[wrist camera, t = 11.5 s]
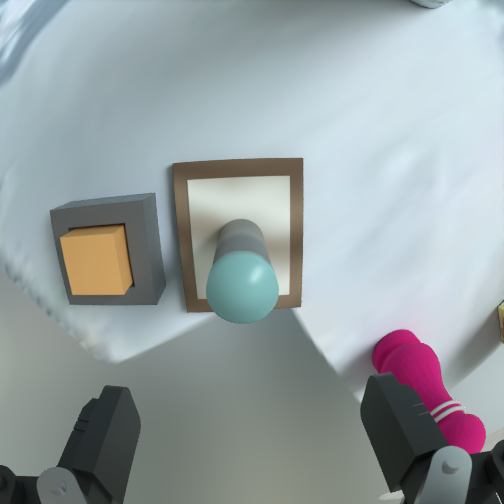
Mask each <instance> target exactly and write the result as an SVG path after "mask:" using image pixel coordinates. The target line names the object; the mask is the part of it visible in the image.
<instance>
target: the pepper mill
mask: <svg viewBox="0 0 504 504" xmlns="http://www.w3.org/2000/svg"><path fill="white" fill-rule="evenodd" d="M372 361H373V365H374V366H375V368H376V370H377V372H378V373H379V374H383V373H388V372H391V373H393V374H394V376H395V377H396V379H397V380H398V382H399V384H400V385H401V384H407V385H408V386H410V387H411V388H412V389H414V390H415V391H416V392H417V393H418V395H419V396H420V398H421V399H422V401H423V404H424V405H425V406H426V407H427V409H428V410H429V413H430V414H431V415H432V417H433V419H434V420H435V422H436V423H437V425H438V427H439V428H440V430H441V432H442V433H443V435H444V437H445V438H446V440H447V442H448V443H449V444H450V446H456V447H459V448H462V449H463V450H465V451H466V452H467V453H468V454H473V453H480V451H481V450H482V448H483V446H484V443H485V439H486V431H485V428H484V425H483V423H482V421H481V420H480V419H479V418H478V417H477V416H475V415H472V414H466V408H465V407H463V406H462V403H461V402H460V401H458V400H453V399H452V398H451V397H450V396H449V394H448V393H447V391H446V390H445V388H444V385H443V382H442V377H441V368H440V363H439V360H438V358H437V356H436V354H435V353H434V351H433V350H432V348H431V347H429V346H428V345H426V344H424V343H421V342H420V341H419V339H418V338H417V337H416V336H415V335H414V334H413V333H412V332H411V331H409V330H397V331H394V332H392V333H390V334H388V335H387V336H385V337H384V338H383V339H382V340H381V341H380V342H379V343H378V344H377V346H376V348H375V349H374V352H373V355H372Z"/></svg>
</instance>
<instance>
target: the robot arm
mask: <svg viewBox="0 0 504 504" xmlns="http://www.w3.org/2000/svg"><path fill="white" fill-rule="evenodd" d="M411 1H413V2H414V3H416V4H419V5H421V6H424V7H428V8H437V7H441V6H442V5H444V4H446V3H448V2H450V1H452V0H411ZM360 413H361V420H362V422H363V425H364V427H365V430H366V432H367V435H368V437H369V440H370V442H371V445H372V447H373V449H374V452H375V454H376V457H377V459H378V462H379V464H380V467H381V469H382V472H383V475H384V477H385V480H386V482H387V485H388V487H389V490H390V493H392V492H396V491H399V490H402V491H403V494H404V496H403V498H402V500H401V503H400V504H501V503H500V501H499V499H498V497H497V495H496V492H497V494H498V496H499V498H500V500H501V502H502V504H504V440H501V441H500V442H498V443H497V444H496V445H495V447H494V448H493V449H492V451H487V452H481V453H473V454H468V453H467V452H466V451H465V450H463V449H462V448H459V447H456V446H450V444H449V443H448V442H447V440H446V438H445V437H444V435H443V433H442V432H441V430H440V428H439V427H438V425H437V423H436V422H435V420H434V419H433V417H432V415H431V414H430V413H429V410H428V409H427V407H426V406H425V405H424V404H423V401H422V399H421V398H420V396H419V395H418V393H417V392H416V391H415V390H414V389H412V388H411V387H410V386H408V385H407V384H401V385H400V384H399V382H398V380H397V379H396V377H395V376H394V374H393V373H391V372H388V373H383V374H378V375H373V376H370V377H369V379H368V382H367V385H366V389H365V393H364V396H363V400H362V403H361V408H360ZM140 426H141V424H140V417H139V414H138V411H137V409H136V407H135V404H134V401H133V398H132V396H131V393H130V390H129V389H128V388H127V387H120V386H109V385H106V386H105V387H104V389H103V391H102V393H101V395H100V397H99V399H95V398H92V400H90V401H89V403H87V404H86V405H85V406H84V407H83V408H82V411H81V413H80V415H79V417H78V422H76V424H75V426H74V431H72V433H71V435H70V437H69V440H68V442H67V444H66V446H65V449H64V451H63V454H62V456H61V458H60V461H59V463H58V465H57V466H56V467H53V468H49V469H47V470H45V471H44V472H43V473H41V475H40V476H38V477H33V476H16V475H15V474H14V473H13V472H12V471H11V470H10V469H9V468H8V467H6V466H3V465H0V504H123V501H124V496H125V492H126V487H127V482H128V478H129V474H130V470H131V466H132V462H133V457H134V454H135V450H136V446H137V442H138V438H139V434H140V428H141V427H140Z"/></svg>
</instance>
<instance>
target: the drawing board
mask: <svg viewBox="0 0 504 504" xmlns="http://www.w3.org/2000/svg"><path fill="white" fill-rule="evenodd" d="M173 178H174V192H175V205H176V217H177V228H178V238H179V248H180V257H181V266H182V275H183V283H184V291H185V298H186V306H187V313H190V312H214V311H213V310H212V308H211V307H210V305H209V303H208V301H207V297H206V285H207V280H208V276H209V272H210V270H211V268H212V265H213V260H214V255H215V251H216V246H217V241H218V237H219V233H220V231H221V229H222V228H223V227H224V226H225V225H226V224H227V223H229V222H230V221H233V220H236V219H246V220H250V221H252V222H254V223H255V224H256V225H257V226H258V227H259V228H260V229H261V231H262V233H263V236H264V240H265V244H266V247H267V251H268V255H269V258H270V262H271V265H272V267H273V269H274V271H275V274H276V278H277V281H278V286H279V296H278V300H277V303H276V305H275V307H274V308H273V309H280V308H295V307H301V293H302V262H303V158H258V159H231V160H212V161H197V162H183V163H174V164H173Z"/></svg>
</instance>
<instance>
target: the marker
mask: <svg viewBox="0 0 504 504" xmlns="http://www.w3.org/2000/svg"><path fill="white" fill-rule="evenodd" d="M278 296H279V286H278V281H277V278H276V274H275V271H274V269H273V267H272V265H271V262H270V258H269V255H268V251H267V247H266V244H265V240H264V236H263V233H262V231H261V229H260V228H259V227H258V226H257V225H256V224H255V223H254V222H252V221H250V220H246V219H236V220H233V221H230V222H229V223H227V224H226V225H225V226H224V227H223V228H222V229H221V231H220V233H219V237H218V241H217V246H216V251H215V255H214V260H213V265H212V268H211V270H210V272H209V276H208V280H207V285H206V297H207V301H208V303H209V305H210V307H211V308H212V310H213V311H214V312H215V313H216V314H217V315H218V316H219V317H221V318H222V319H224V320H226V321H229V322H233V323H238V324H246V323H252V322H255V321H258V320H260V319H262V318H263V317H265V316H266V315H268V314H269V313H270V312H271V310H272V309H273V308H274V307H275V305H276V303H277V300H278Z"/></svg>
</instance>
